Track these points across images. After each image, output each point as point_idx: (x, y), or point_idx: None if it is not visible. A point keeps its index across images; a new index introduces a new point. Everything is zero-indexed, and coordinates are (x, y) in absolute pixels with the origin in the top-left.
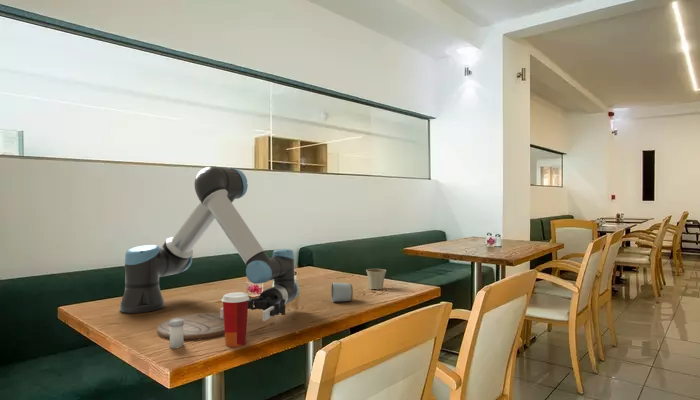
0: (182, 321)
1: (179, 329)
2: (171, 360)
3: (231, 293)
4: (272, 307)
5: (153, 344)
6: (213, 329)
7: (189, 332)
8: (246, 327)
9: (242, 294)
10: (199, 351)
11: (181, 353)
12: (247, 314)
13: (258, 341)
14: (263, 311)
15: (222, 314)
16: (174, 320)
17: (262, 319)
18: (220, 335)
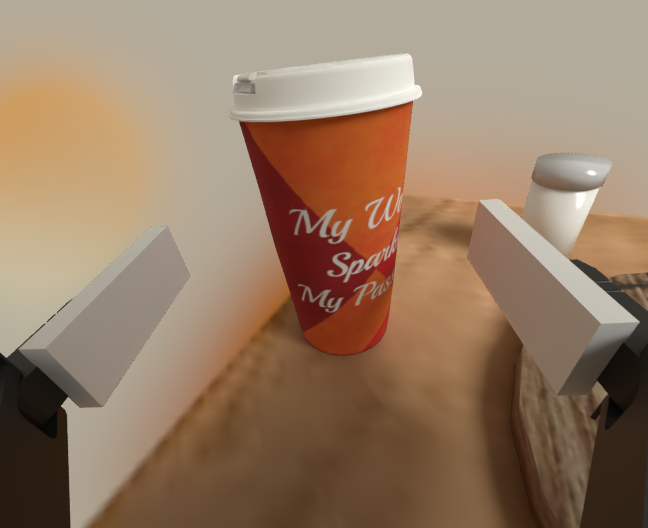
0: (540, 166)
1: (529, 190)
2: (430, 209)
3: (378, 57)
4: (58, 314)
5: (636, 246)
6: (597, 382)
7: (644, 306)
8: (284, 274)
9: (274, 70)
10: (416, 249)
11: (452, 231)
12: (270, 222)
13: (251, 368)
14: (160, 228)
15: (471, 237)
16: (581, 159)
17: (186, 268)
18: (513, 390)
